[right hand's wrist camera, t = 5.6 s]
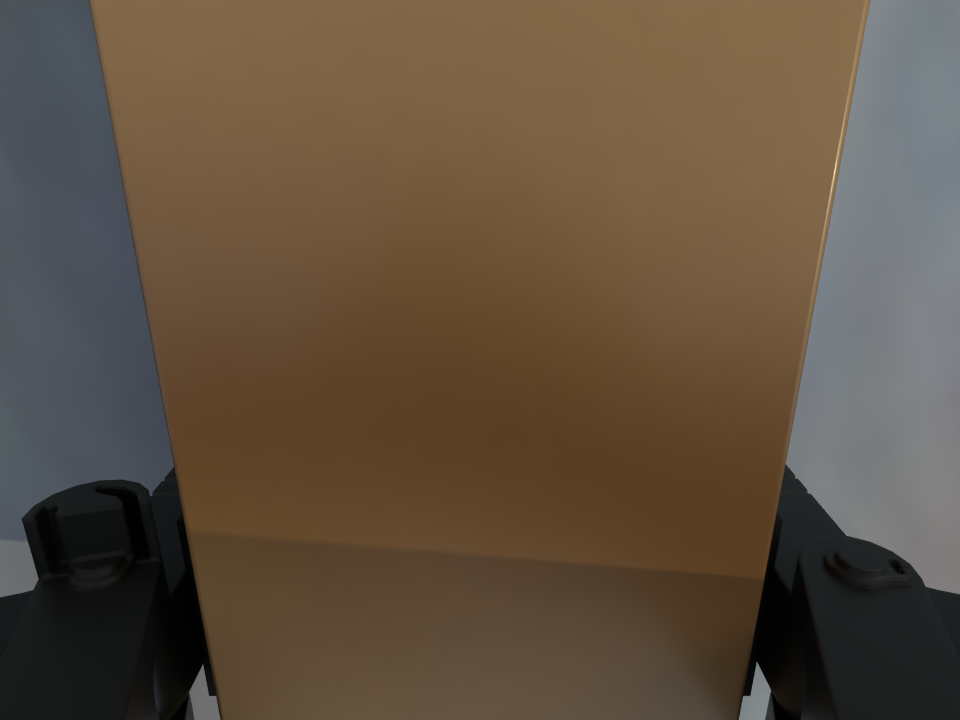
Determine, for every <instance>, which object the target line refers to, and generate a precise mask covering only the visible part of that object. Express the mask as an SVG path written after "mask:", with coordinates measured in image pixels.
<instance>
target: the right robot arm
mask: <svg viewBox="0 0 960 720" xmlns="http://www.w3.org/2000/svg"><path fill="white" fill-rule="evenodd" d="M22 522H23V525H24V529H25V532H26V536H27V539H28V543H29V546H30V550H31V553H32V557H33V560H34V564H35V567H36V571H37V574H38V578H39V580H38V582H37V584H36V586H35V588H34V590H32V591H28V592H24V593H20V594H15V595H10V596H5V597H0V720H194V716H193V709H192V703H191V698H190V693H189V691H190V689H191V687H192V685H193V683H194V681H195V679H196V677H197V675H198V673H199V671H200V669H201V667H202V665H204V670H205V676H206V681H207V686H208V692H209V696H216V692H215V686H214V681H213V675H212V670H211V664H210V659H209V653H208V648H207V642H206V637H205V632H204V626H203V621H202V615H201V610H200V604H199V599H198V593H197V588H196V582H195V577H194V571H193V566H192V560H191V555H190V550H189V544H188V539H187V533H186V528H185V522H184V517H183V511H182V506H181V500H180V495H179V489H178V484H177V479H176V473H175V468H173V469H172V470H171V471H170V472H169V474H168V475H167V476H166V477H165V481H162V482H161V483H160V484H159V486H158V487H157V488H156V489H155V490H154V491H153V495H152V496H150V495H149V490H148V489H146V488H145V487H144V486H142V485H141V484H139V483H136V482H131V481H126V480H103V481H96V482H91V483H87V484H82V485H77V486H74V487H72V488H69V489H66V490H64V491H61V492H58V493H56V494H53V495H51V496H50V497H48V498H46V499H45V500H43V501H41V502H40V503H38V504H36V505H35V506H33V507H32V509H31V510H30V511H29V512H28V513H27V514H26V515H25V516H24V517H23V518H22ZM757 662H758V664H759V666H760V668H761V670H762V672H763V674H764V676H765V678H766V680H767V682H768V684H769V686H770V688H771V693H770V698H769V703H768V708H767V713H766V718H765V720H960V594H955V593H950V592H945V591H940V590H936V589H932V588H928V587H925V585H924V583H923V581H922V579H921V577H920V576H919V575H918V573H917V572H916V571H915V570H914V568H913V567H912V566H911V565H910V564H909V563H908V562H906V561H905V560H903V559H902V558H901V557H899V556H898V555H896V554H895V553H894V552H892V551H890V550H888V549H885V548H883V547H881V546H878V545H876V544H874V543H872V542H869V541H865V540H861V539H857V538H853V537H849V536H846V535H845V534H844V533H843V531H842V530H841V529H840V528H839V527H838V526H837V524H836V523H835V522H834V521H833V520H832V518H831V517H830V516H829V515H828V514H827V513H826V511H825V510H824V509H823V508H822V507H821V506H820V504H819V503H818V502H817V501H816V500H815V498H814V497H813V496H812V495H811V494H808V493H807V489H806V488H805V487H804V485H803V484H802V483H801V482H800V481H799V480H798V479H795V475H794V474H793V472H792V471H791V470H790V469H789V468H788V467H787V465H786V464H785V469H784V474H783V480H782V485H781V491H780V496H779V502H778V507H777V513H776V518H775V524H774V529H773V535H772V540H771V545H770V551H769V556H768V562H767V567H766V573H765V578H764V584H763V589H762V595H761V600H760V606H759V611H758V617H757V622H756V628H755V633H754V639H753V644H752V649H751V655H750V660H749V666H748V671H747V677H746V682H745V688H744V693H743V696H750V695H751V689H752V684H753V679H754V673H755V668H756V663H757Z"/></svg>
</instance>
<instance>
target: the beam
mask: <svg viewBox="0 0 960 720" xmlns="http://www.w3.org/2000/svg"><path fill="white" fill-rule="evenodd" d="M89 3H90V8H91V14H92V19H93V25H94V30H95V36H96V41H97V47H98V52H99V58H100V63H101V69H102V74H103V80H104V85H105V90H106V96H107V101H108V107H109V112H110V118H111V123H112V129H113V134H114V140H115V145H116V151H117V156H118V162H119V167H120V172H121V178H122V183H123V189H124V194H125V200H126V205H127V211H128V216H129V222H130V227H131V233H132V238H133V243H134V249H135V254H136V260H137V265H138V271H139V276H140V282H141V287H142V293H143V298H144V304H145V309H146V315H147V320H148V325H149V331H150V336H151V342H152V347H153V353H154V358H155V364H156V369H157V375H158V380H159V386H160V391H161V397H162V402H163V407H164V413H165V418H166V424H167V429H168V435H169V440H170V446H171V451H172V457H173V462H174V468H175V473H176V479H177V484H178V489H179V495H180V500H181V506H182V511H183V517H184V522H185V528H186V533H187V539H188V544H189V550H190V555H191V560H192V566H193V571H194V577H195V582H196V588H197V593H198V599H199V604H200V610H201V615H202V621H203V626H204V632H205V637H206V642H207V648H208V653H209V659H210V664H211V670H212V675H213V681H214V686H215V692H216V697H217V703H218V708H219V714H220V719H221V720H739V715H740V710H741V704H742V699H743V693H744V688H745V682H746V677H747V671H748V666H749V660H750V655H751V649H752V644H753V639H754V633H755V628H756V622H757V617H758V611H759V606H760V600H761V595H762V589H763V584H764V578H765V573H766V567H767V562H768V556H769V551H770V545H771V540H772V535H773V529H774V524H775V518H776V513H777V507H778V502H779V496H780V491H781V485H782V480H783V474H784V469H785V463H786V458H787V452H788V447H789V441H790V436H791V430H792V425H793V420H794V414H795V409H796V403H797V398H798V392H799V387H800V381H801V376H802V370H803V365H804V359H805V354H806V348H807V343H808V337H809V332H810V326H811V321H812V315H813V310H814V305H815V299H816V294H817V288H818V283H819V277H820V272H821V266H822V261H823V255H824V250H825V244H826V239H827V233H828V228H829V222H830V217H831V211H832V206H833V201H834V195H835V190H836V184H837V179H838V173H839V168H840V162H841V157H842V151H843V146H844V140H845V135H846V129H847V124H848V118H849V113H850V107H851V102H852V96H853V91H854V86H855V80H856V75H857V69H858V64H859V58H860V53H861V47H862V42H863V36H864V31H865V25H866V20H867V14H868V9H869V3H870V0H89Z"/></svg>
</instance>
